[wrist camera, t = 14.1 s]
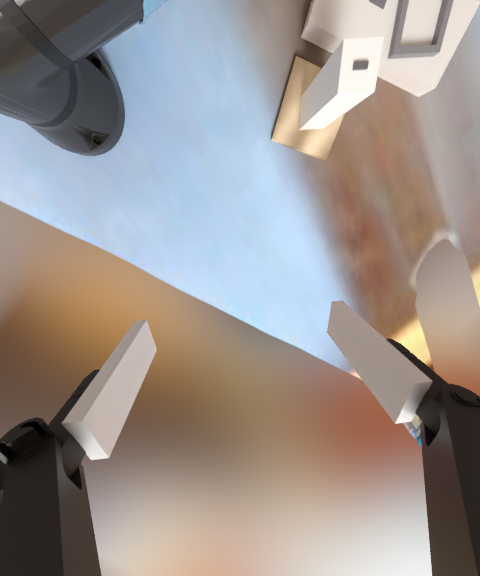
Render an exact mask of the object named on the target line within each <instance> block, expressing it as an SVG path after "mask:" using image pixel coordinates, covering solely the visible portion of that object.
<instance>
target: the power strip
mask: <svg viewBox="0 0 480 576" xmlns="http://www.w3.org/2000/svg"><path fill="white" fill-rule="evenodd" d="M479 4H480V0H312V1H311V5H310V8H309V12H308V15H307V18H306V22H305V25H304V29H303V32H302V36H301V38H303V39H305V40H307V41H309V42H311V43H313V44H314V45H316V46H318V47H320V48H322V49H324V50H326V51H328V52H330V53H332V54H333V53H334V51H335V50H336V49H337V47H338V46H339V45H340V43H341V42H342V41H343V39H348V38H369V37H384V40H383V46H382V51H381V57H380V63H379V69H378V74H377V76H378V77H380V78H382V79H384V80H386V81H388V82H390V83H392V84H394V85H396V86H398V87H400V88H402V89H404V90H406V91H408V92H410V93H412V94H414V95H415V96H417V97H420V96H421V95H423V94H425V93H427V92H429V91H431V90H433V89H435V88H436V86H437V84H438V82H439V80H440V78H441V76H442V75H443V73H444V71H445V69H446V67H447V65H448V63H449V61H450V59H451V57H452V56H453V54H454V52H455V50H456V48H457V46H458V44H459V42H460V40H461V38H462V37H463V35H464V33H465V31H466V29H467V27H468V25H469V23H470V21H471V19H472V18H473V16H474V14H475V12H476V10H477V8H478V6H479Z"/></svg>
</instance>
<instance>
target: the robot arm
mask: <svg viewBox="0 0 480 576" xmlns="http://www.w3.org/2000/svg"><path fill="white" fill-rule="evenodd" d="M166 1H167V0H0V113H1V114H4V115H6V116H9V117H12V118H15V119H17V120H20V121H23V122H26V123H27V124H28V125H30V126H31V127H32V128H33V129H35V130H36V131H37V132H38V133H40V134H41V135H42V136H44V137H45V138H46V139H47V140H49V141H50V142H52V143H53V144H55V145H57V146H59V147H61V148H63V149H65V150H68V151H71V152H74V153H77V154H81V155H87V156H95V155H100V154H103V153H105V152H107V151H109V150H110V149H112V148H113V147H114V146H115V145H116V143H117V142H118V140H119V138H120V136H121V134H122V131H123V127H124V119H125V112H124V103H123V98H122V94H121V91H120V88H119V85H118V83H117V81H116V78H115V76H114V75H113V73H112V71H111V69H110V68H109V66H108V65H107V63H106V62H105V61H104V59H103V58H102V57H101V56H100V55H99V54H98V52H97V51H96V50H97V49H99V48H100V47H102V46H103V45H105V44H106V43H108V42H109V41H111V40H112V39H114V38H115V37H117V36H118V35H120V34H121V33H123V32H124V31H126V30H127V29H129V28H130V27H132V26H133V25H135V24H136V23H139V24H144V23H145V22H146V20H147V18H148V15H150V14H151V13H152V12H154V11H155V10H156V9H157V8H159V7H160V6H161V5H163V4H164V3H165V2H166ZM327 333H328V334H329V336H330V337H331V338H332V340H333V341H334V342H335V344H336V345H337V346H338V348H339V349H340V350H341V352H342V353H343V354H344V356H345V357H346V358H347V360H348V361H349V363H350V364H351V365H352V367H353V368H354V369H355V371H356V372H357V373H358V375H359V376H360V377H361V379H362V380H363V381H364V382H365V384H366V385H367V386H368V388H369V389H370V391H371V392H372V393H373V395H374V396H375V397H376V399H377V400H378V401H379V403H380V404H381V405H382V407H383V408H384V409H385V410H386V412H387V413H388V415H389V416H390V417H391V419H392V420H393V421H394V423H404V422H411V421H412V419H413V417H414V415H415V414H416V415H417V416H418V417H419V418H420V419H421V420H422V421H421V423H420V425H419V427H418V428H417V430H416V432H415V435H414V436H416V437H418V436H419V434H420V433H421V444H422V456H423V468H424V479H425V492H426V504H427V516H428V528H429V540H430V552H431V564H432V576H480V397H479V396H478V395H476V394H475V393H473V392H472V391H470V390H468V389H466V388H463V387H461V386H458V385H454V384H448V383H447V382H446V381H444V380H443V379H442V378H441V377H440V376H438V375H437V374H436V373H435V372H434V371H432V370H431V369H430V368H429V367H428V366H427V365H425V364H424V363H423V362H422V361H421V360H419V359H417V357H416V356H415V355H413V354H412V353H410V351H409V350H408V349H406V348H405V347H404V346H403V345H402V344H400V343H398V342H396V341H394V340H392V339H385V338H384V337H383V336H381V335H380V334H379V333H378V332H377V331H376V330H375V329H374V328H372V327H371V326H370V325H369V324H368V323H367V322H366V321H365V320H363V319H362V318H361V317H360V316H359V315H358V314H357V313H356V312H354V311H353V310H352V309H351V308H350V307H349V306H348V305H347V304H346V303H344V302H343V301H334V302H332V304H331V311H330V317H329V323H328V329H327ZM156 351H157V349H156V346H155V343H154V341H153V337H152V334H151V331H150V328H149V326H148V323H147V320H140V321H135V322H134V324H133V325H132V326H131V328H130V329H129V331H128V332H127V333H126V335H125V336H124V337H123V339H122V340H121V342H120V343H119V345H118V346H117V347H116V349H115V350H114V351H113V353H112V354H111V356H110V357H109V358H108V360H107V361H106V362H105V364H104V365H103V367H102V368H101V369H100V370H94V371H93V372H92V373H90V374H89V375H88V376H87V377H86V378H84V380H83V381H82V382H81V384H80V385H79V386H78V387H77V390H75V391H74V393H73V394H72V395H71V398H69V399H68V400H67V402H66V403H65V404H64V406H63V407H62V408H61V409H60V411H59V412H58V413H57V415H56V416H55V417H54V419H53V420H52V421H51V422H50V424H49V425H47V424H46V422H45V421H44V420H43V419H42V418H33V419H29V420H27V421H24V422H22V423H20V424H19V425H17V426H16V427H14V428H13V429H11V430H10V431H9V432H7V433H6V434H5V435H4V436H3V437H2V438H1V439H0V576H101V571H100V565H99V560H98V553H97V547H96V541H95V535H94V529H93V523H92V517H91V511H90V506H89V499H88V493H87V487H86V481H85V475H84V469H83V466H82V465H81V461H82V459H83V457H84V455H85V454H87V455H88V457H89V458H90V459H91V460H96V459H104V458H109V456H110V454H111V452H112V449H113V447H114V445H115V443H116V441H117V438H118V436H119V434H120V432H121V429H122V427H123V425H124V423H125V420H126V418H127V416H128V414H129V412H130V409H131V407H132V404H133V402H134V400H135V398H136V396H137V394H138V391H139V389H140V387H141V385H142V382H143V380H144V378H145V376H146V373H147V371H148V369H149V366H150V364H151V362H152V360H153V358H154V355H155V353H156Z"/></svg>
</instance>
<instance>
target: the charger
mask: <svg viewBox="0 0 480 576" xmlns="http://www.w3.org/2000/svg"><path fill="white" fill-rule="evenodd" d="M383 40H384V37H369V38H348V39H343V41H342V42H341V43H340V45H339V46H338V47H337V49H336V50H335V51H334V53H333V54H332V56H331V57H330V58H329V60H328V61H327V62H326V64H325V65H324V66H323V68H322V69H321V70H320V72H319V73H318V75H317V76H316V77H315V79H314V80H313V81H312V83H311V84H310V85H309V87H308V88H307V90H306V91H305V92H304V94H303V95H302V96H301V103H300V122H299V130H309V129H324V128H325V127H326V126H328V125H329V124H330V123H332V122H333V121H335V120H336V119H337V118H339V117H340V116H342V115H343V114H344V113H346V112H347V111H348V110H350V109H351V108H353V107H354V106H355V105H357V104H358V103H360V102H361V101H362V100H364V99H365V98H366V97H368V96H369V95H371V94H372V93H373V92H374V91H375V86H376V80H377V74H378V69H379V63H380V57H381V51H382V46H383Z"/></svg>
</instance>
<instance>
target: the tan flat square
mask: <svg viewBox="0 0 480 576" xmlns="http://www.w3.org/2000/svg"><path fill="white" fill-rule="evenodd" d="M321 69H322V68H320V67H318V66H316V65H314V64H312V63H310V62H308V61H306V60H304V59H302V58H300V57H298V56H296V58H295V60H294V63H293V67H292V70H291V74H290V77H289V80H288V84H287V87H286V91H285V94H284V98H283V101H282V105H281V108H280V111H279V115H278V118H277V122H276V125H275V129H274V132H273V136H272V139H271V140H272V141H275V142H277V143H280V144H283V145H285V146H288V147H290V148H293V149H295V150H298V151H301V152H303V153H306V154H308V155H311V156H313V157H316V158H319V159H321V160H324V161H325V160H326V159H327V156H328V154H329V151H330V149H331V146H332V144H333V141H334V139H335V136H336V134H337V131H338V129H339V126H340V124H341V121H342V119H343V116H344V114H345V113H344V114H343V115H342V116H340V117H339V118H337V119H336V120H335V121H333V122H332V123H330V124H329V125H328V126H326V127H325V128H324V129H309V130H299V122H300V103H301V96H302V95H303V94H304V92H305V91H306V90H307V88H308V87H309V85H310V84H311V83H312V81H313V80H314V79H315V77H316V76H317V75H318V73H319V72H320V70H321Z"/></svg>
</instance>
